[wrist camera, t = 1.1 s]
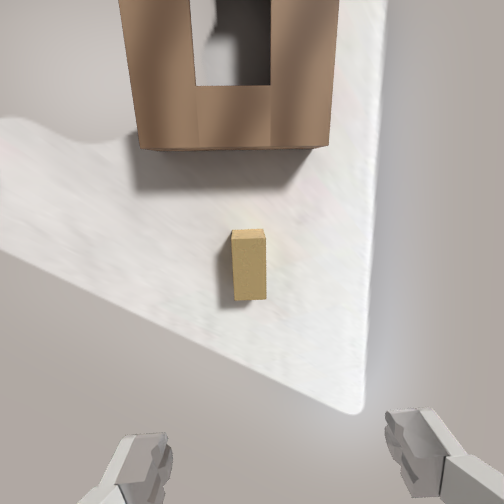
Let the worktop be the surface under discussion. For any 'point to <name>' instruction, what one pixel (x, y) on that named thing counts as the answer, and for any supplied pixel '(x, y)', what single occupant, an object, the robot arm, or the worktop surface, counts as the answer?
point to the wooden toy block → (249, 264)
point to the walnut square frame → (231, 97)
